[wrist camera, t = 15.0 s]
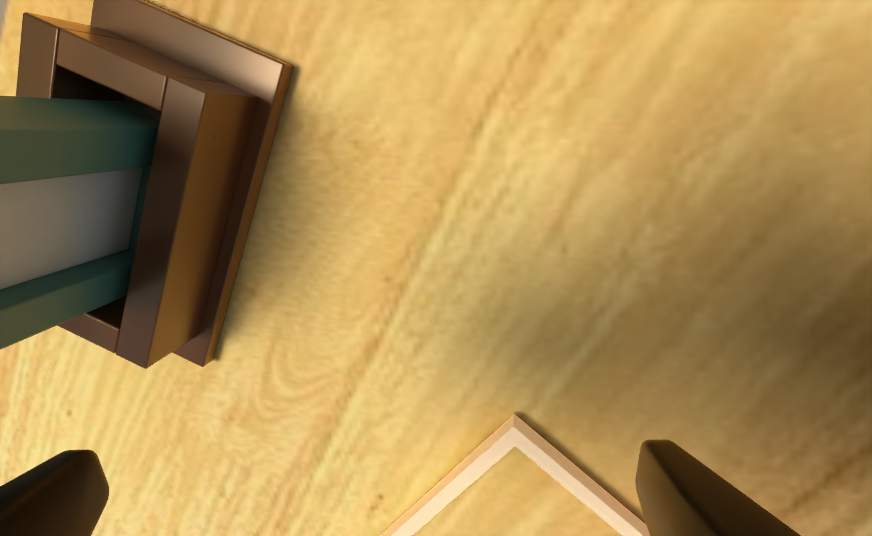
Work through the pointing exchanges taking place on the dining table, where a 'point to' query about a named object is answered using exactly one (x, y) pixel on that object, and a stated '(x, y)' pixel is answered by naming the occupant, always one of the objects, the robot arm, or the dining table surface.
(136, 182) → the picture frame
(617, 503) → the photo frame
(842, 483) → the dining table surface
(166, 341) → the frame holder
